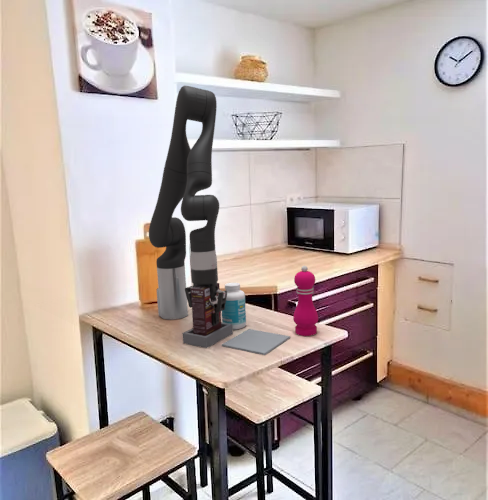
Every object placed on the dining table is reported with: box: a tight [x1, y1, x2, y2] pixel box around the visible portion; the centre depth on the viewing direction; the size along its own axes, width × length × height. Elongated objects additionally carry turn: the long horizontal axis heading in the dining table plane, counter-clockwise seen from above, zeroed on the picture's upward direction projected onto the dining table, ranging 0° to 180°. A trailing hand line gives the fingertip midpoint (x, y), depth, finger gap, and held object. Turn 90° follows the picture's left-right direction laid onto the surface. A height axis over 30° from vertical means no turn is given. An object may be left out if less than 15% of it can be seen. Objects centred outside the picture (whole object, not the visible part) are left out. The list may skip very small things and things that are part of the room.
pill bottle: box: [221, 282, 247, 330], centre depth 144 cm, size 8×7×14 cm
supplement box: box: [191, 282, 222, 336], centre depth 134 cm, size 9×5×16 cm, turn 152°
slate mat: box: [221, 328, 291, 356], centre depth 131 cm, size 14×14×1 cm
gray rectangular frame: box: [182, 321, 234, 349], centre depth 136 cm, size 8×12×3 cm
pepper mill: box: [292, 265, 319, 337], centre depth 135 cm, size 7×7×20 cm
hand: (207, 323), depth 135 cm, fingers closed on supplement box, 5 cm apart
